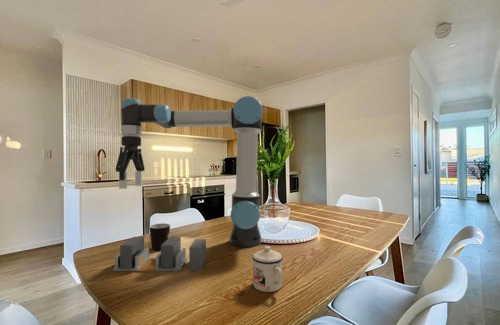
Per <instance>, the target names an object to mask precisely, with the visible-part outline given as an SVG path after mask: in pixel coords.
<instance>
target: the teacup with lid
mask: <svg viewBox="0 0 500 325" xmlns="http://www.w3.org/2000/svg"><path fill="white" fill-rule="evenodd" d="M282 262H283V256H282V254H281V253H280V252H278V251H275V250H273V249H272V248H271V246H268V245H267V246H266V245H265V246H264V247H263V249H261V250H259V251H255V252H254V253H253V255H252V263H253V264H252V265H253V266H252V267H253V268H252V270H253V271H252V272H253V274H252V276H253V278H252V280H253V281H252V284H253V287H254V288H255V289H256V290H258V291H260V292H265V293H272V292H276V291H277V292H278V291H279V290H280V289H281V288H282V284H283V281H284V274H283V271H282V270H283V269H282V267H283V264H282Z"/></svg>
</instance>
